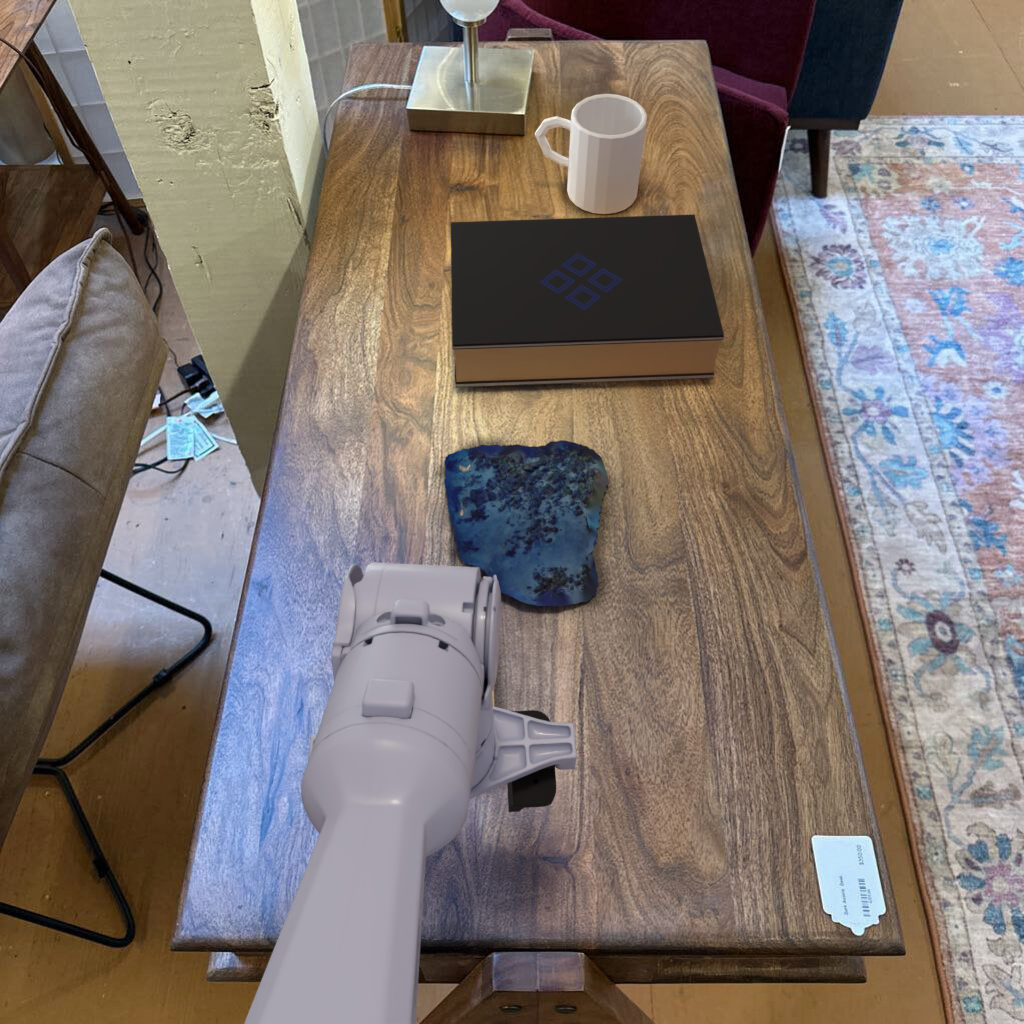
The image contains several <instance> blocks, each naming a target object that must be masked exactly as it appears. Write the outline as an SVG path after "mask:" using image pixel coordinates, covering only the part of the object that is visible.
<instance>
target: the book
mask: <svg viewBox="0 0 1024 1024" xmlns="http://www.w3.org/2000/svg"><path fill="white" fill-rule="evenodd" d="M700 235H701V234H700V231H699V225H698V222H697V218H696V215H695V214H668V215H667V214H666V215H665V214H664V215H636V216H635V215H633V216H603V217H602V216H601V217H573V218H570V217H569V218H543V219H542V218H541V219H537V218H536V219H511V220H507V219H506V220H479V221H451V222H450V262H451V263H450V265H451V266H450V269H451V272H450V273H451V274H450V275H451V277H450V278H451V283H450V284H451V342H452V343H451V348H452V350H453V351H454V384H455V389H457V388H460V389H461V388H484V387H487V388H489V387H513V386H514V387H516V386H539V385H540V386H541V385H542V386H543V385H569V384H596V383H597V384H598V383H624V382H627V383H628V382H654V381H655V382H656V381H681V380H706V379H707V380H708V379H710V380H711V379H714V376H715V372H714V371H715V370H714V369H715V367H716V366H715V365H716V361H717V357H718V355H719V350H720V345H721V342H722V341H724V337H725V334H724V329H723V324H722V321H721V316H720V313H719V309H718V304H717V300H716V297H715V293H714V289H713V285H712V280H711V276H710V272H709V268H708V264H707V259H706V255H705V252H704V251H705V250H704V247H703V243H702V239H701V236H700Z"/></svg>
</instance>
